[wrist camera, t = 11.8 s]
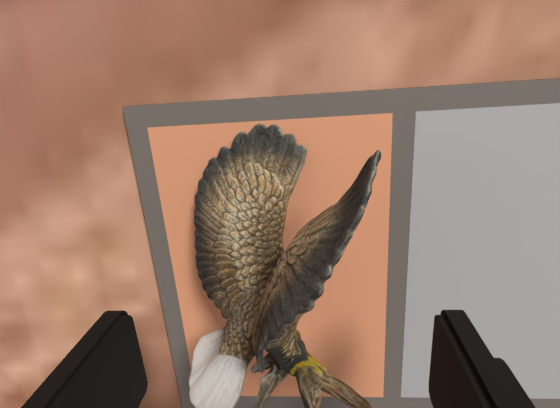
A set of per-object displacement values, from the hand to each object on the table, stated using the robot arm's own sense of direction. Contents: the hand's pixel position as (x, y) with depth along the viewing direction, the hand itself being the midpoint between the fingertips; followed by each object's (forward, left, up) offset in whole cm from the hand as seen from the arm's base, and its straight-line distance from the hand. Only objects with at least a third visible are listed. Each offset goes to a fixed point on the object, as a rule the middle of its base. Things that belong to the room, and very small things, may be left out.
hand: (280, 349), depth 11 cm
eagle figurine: (0, -1, -5) cm, 5 cm away
